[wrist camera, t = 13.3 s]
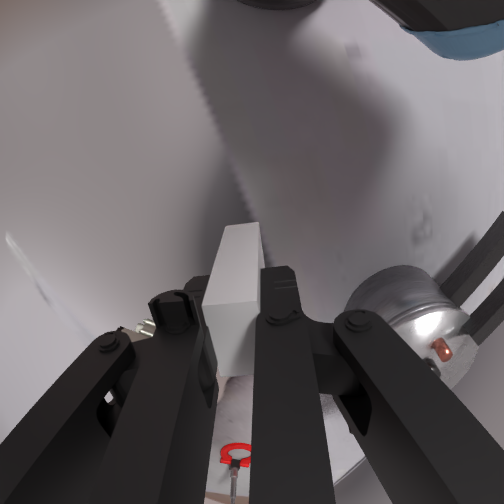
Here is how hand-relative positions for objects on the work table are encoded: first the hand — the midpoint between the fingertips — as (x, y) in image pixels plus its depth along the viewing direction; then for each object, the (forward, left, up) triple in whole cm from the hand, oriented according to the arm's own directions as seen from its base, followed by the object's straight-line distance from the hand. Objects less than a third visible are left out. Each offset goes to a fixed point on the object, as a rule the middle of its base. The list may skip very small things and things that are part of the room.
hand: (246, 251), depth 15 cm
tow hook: (+58, -11, -25) cm, 64 cm away
